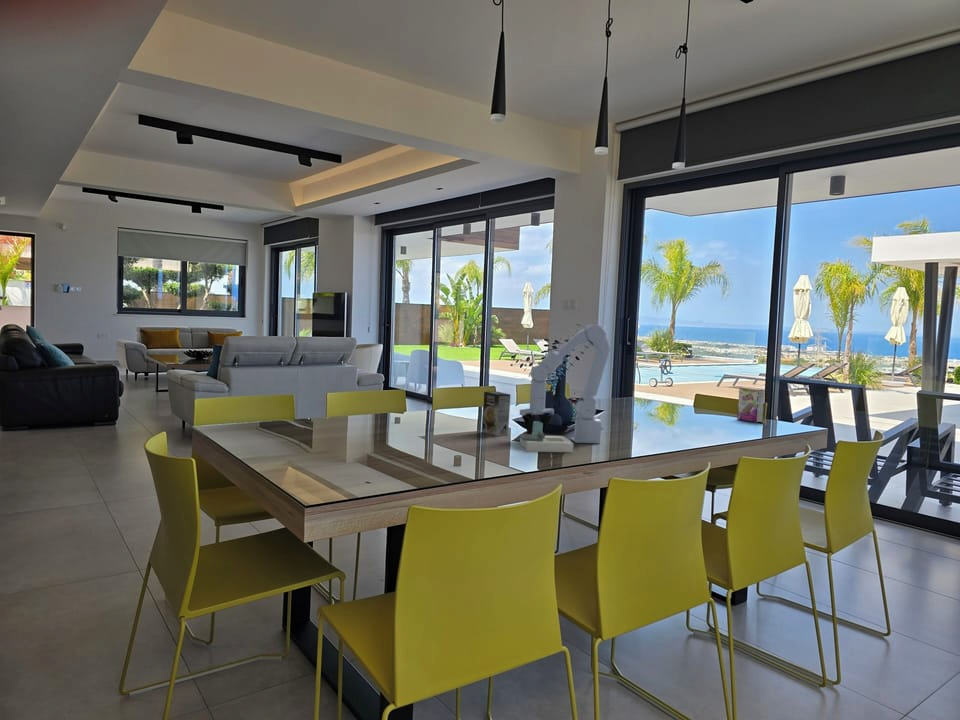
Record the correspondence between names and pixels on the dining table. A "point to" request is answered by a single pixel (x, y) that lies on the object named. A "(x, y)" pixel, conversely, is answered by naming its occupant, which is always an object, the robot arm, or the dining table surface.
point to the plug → (537, 427)
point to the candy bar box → (751, 404)
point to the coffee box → (496, 413)
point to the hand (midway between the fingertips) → (535, 433)
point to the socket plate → (548, 444)
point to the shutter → (533, 437)
